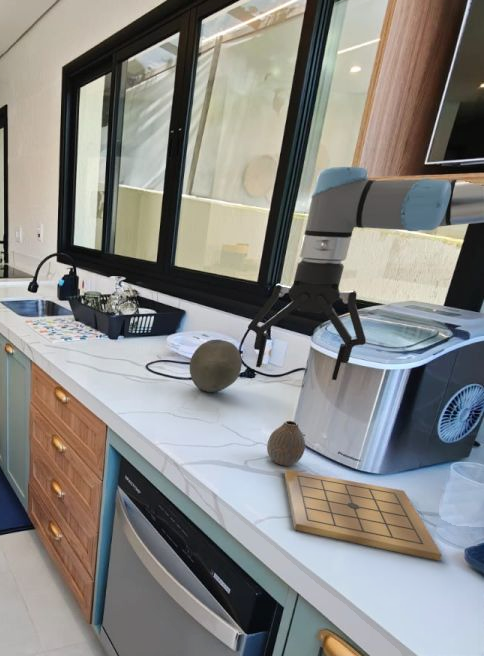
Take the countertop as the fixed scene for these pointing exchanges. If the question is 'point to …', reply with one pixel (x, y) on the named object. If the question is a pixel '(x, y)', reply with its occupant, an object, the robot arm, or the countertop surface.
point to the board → (358, 514)
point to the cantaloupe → (215, 365)
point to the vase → (286, 444)
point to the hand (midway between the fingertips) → (295, 371)
